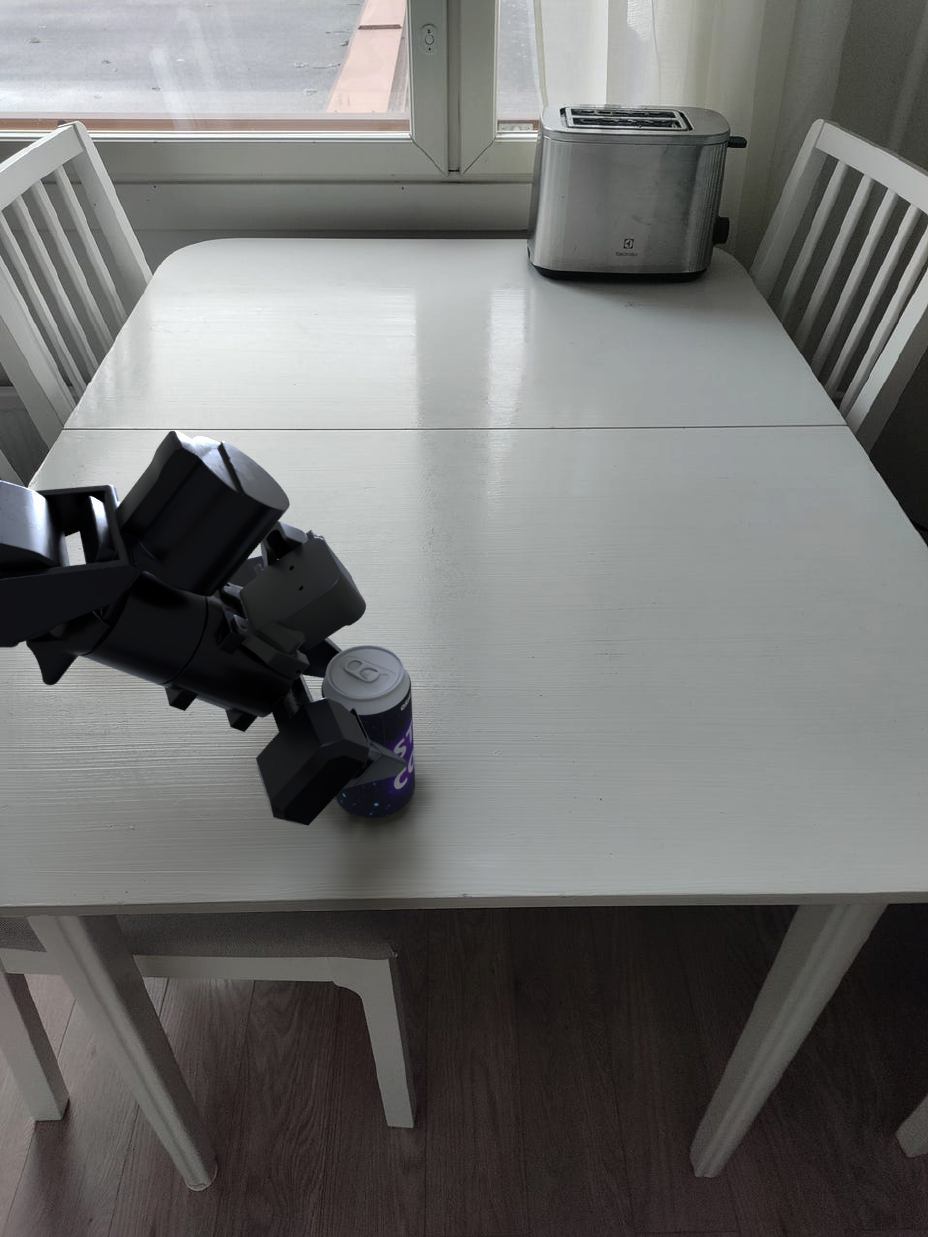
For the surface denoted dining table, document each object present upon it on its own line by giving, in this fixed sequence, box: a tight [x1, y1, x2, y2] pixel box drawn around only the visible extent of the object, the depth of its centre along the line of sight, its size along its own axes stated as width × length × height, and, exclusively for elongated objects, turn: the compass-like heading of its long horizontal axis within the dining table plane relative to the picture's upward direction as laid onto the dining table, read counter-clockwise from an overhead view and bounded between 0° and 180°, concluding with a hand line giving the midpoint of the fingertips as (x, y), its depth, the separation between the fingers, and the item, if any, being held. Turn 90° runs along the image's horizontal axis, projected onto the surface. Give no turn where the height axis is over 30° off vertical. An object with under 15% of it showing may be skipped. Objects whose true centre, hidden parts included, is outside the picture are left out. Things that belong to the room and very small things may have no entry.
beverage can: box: [320, 644, 416, 820], centre depth 64 cm, size 6×6×12 cm
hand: (378, 718), depth 63 cm, fingers open, 9 cm apart
